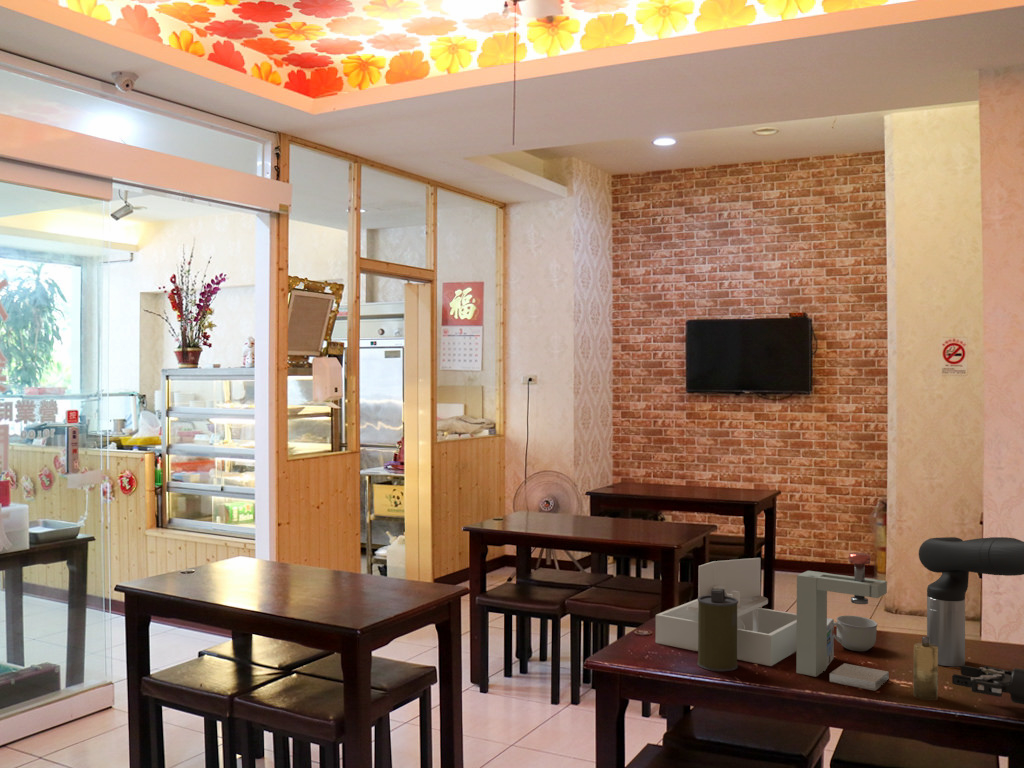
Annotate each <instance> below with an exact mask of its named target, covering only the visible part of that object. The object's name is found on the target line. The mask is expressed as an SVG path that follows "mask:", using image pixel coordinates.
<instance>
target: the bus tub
mask: <svg viewBox="0 0 1024 768" xmlns="http://www.w3.org/2000/svg"><path fill="white" fill-rule="evenodd" d="M696 601H698V598H696V599H693V600H691V601H688V602H685V603H684V604H681V605H678V606H674V607H672V608H670V609H667V610H665V611H662V612H660V613H657V614H655V643H656V644H659V645H663V646H670V647H675V648H679V649H684V650H689V651H693V652H698V612H694V611H688V610H687V605H688V604H691V603H694V602H696ZM795 653H797V613H795V612H794V613H793V612H788V611H782V610H774V609H769V608H762V607H759V608H758V632H755V631H749V630H744V629H738V628H737V661H738V660H739V661H744V662H749V663H753V664H759V665H764V666H768V667H772V666H774V665H776V664H777V663H779V662H782V660H784V659H785V658H787V657H789V656H791V655H793V654H795Z"/></svg>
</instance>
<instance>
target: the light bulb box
mask: <svg viewBox="0 0 1024 768" xmlns="http://www.w3.org/2000/svg"><path fill="white" fill-rule="evenodd" d="M834 620H835V619H834V618H830V617H829V618H828V617H827V667H828V666H829V665H830V664H831V662H832V661H833V660H834V658H835V657H834V653H835V651H834V649H835V647H834V643H835V641H834V640H835V638H834V634H835V632H834V631H835V629H834V628H835V626H834V622H835V621H834Z"/></svg>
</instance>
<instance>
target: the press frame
mask: <svg viewBox="0 0 1024 768" xmlns="http://www.w3.org/2000/svg"><path fill="white" fill-rule="evenodd" d="M887 585H888V581H887V580H882V579H874V578H867V577H865V582H859V581H854V576H852V575H851V576H849V575H844V574H836V573H835V574H834V573H828V572H821V571H813V570H806V571H804V572H801V573H798V574H797V575H796V614H797V651H796V652H795V653H796V669H795V670H796V672H795V673H796V674H800V675H806V676H811V677H815V678H816V677H818V676H819V675H821V674H823V673H824V672H826V669H828V666H827V618H828V592H832V593H839V594H846V595H853V596H854V595H858V596H865V598H873V599H874V598H875V599H879V598H880V597H882V596H884V595H887V593H888V592H887V591H888V589H887V588H888V586H887ZM823 671H824V672H823Z"/></svg>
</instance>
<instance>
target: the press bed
mask: <svg viewBox="0 0 1024 768" xmlns="http://www.w3.org/2000/svg"><path fill="white" fill-rule="evenodd" d="M889 674H890V673H889V671H887V670H883V669H882V670H881V669H878V668H877V669H875V668H873V667H872V668H871V667H866V666H861V665H855V664H849V663H843V664H841V665H840V666H838V667H837V668H835V669H834V670H832V671H831V672H830V673H829V682H830V683H835V684H840V685H845V686H850V687H854V688H860V689H865V690H869V691H872V692H873V691H875V692H876V691H877V690H878V689H879V688H881V687H882V686H883V685H884V684H885V683H886V682H888V681H889V680H888V679H889V677H890V675H889ZM887 680H888V681H887ZM883 683H884V684H883ZM881 685H882V686H881Z"/></svg>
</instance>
